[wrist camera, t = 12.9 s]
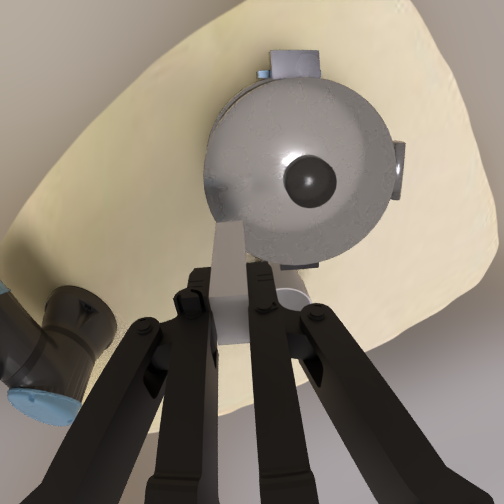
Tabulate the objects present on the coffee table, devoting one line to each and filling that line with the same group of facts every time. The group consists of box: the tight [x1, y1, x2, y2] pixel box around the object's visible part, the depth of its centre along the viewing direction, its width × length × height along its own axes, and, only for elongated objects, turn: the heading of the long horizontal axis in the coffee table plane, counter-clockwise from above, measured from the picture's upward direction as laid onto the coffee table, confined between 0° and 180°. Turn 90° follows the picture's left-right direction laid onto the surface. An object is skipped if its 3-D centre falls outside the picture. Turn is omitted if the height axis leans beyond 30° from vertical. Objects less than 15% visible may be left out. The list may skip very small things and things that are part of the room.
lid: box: [203, 77, 406, 265], centre depth 27 cm, size 20×18×4 cm
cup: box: [261, 260, 312, 311], centre depth 44 cm, size 8×8×10 cm
